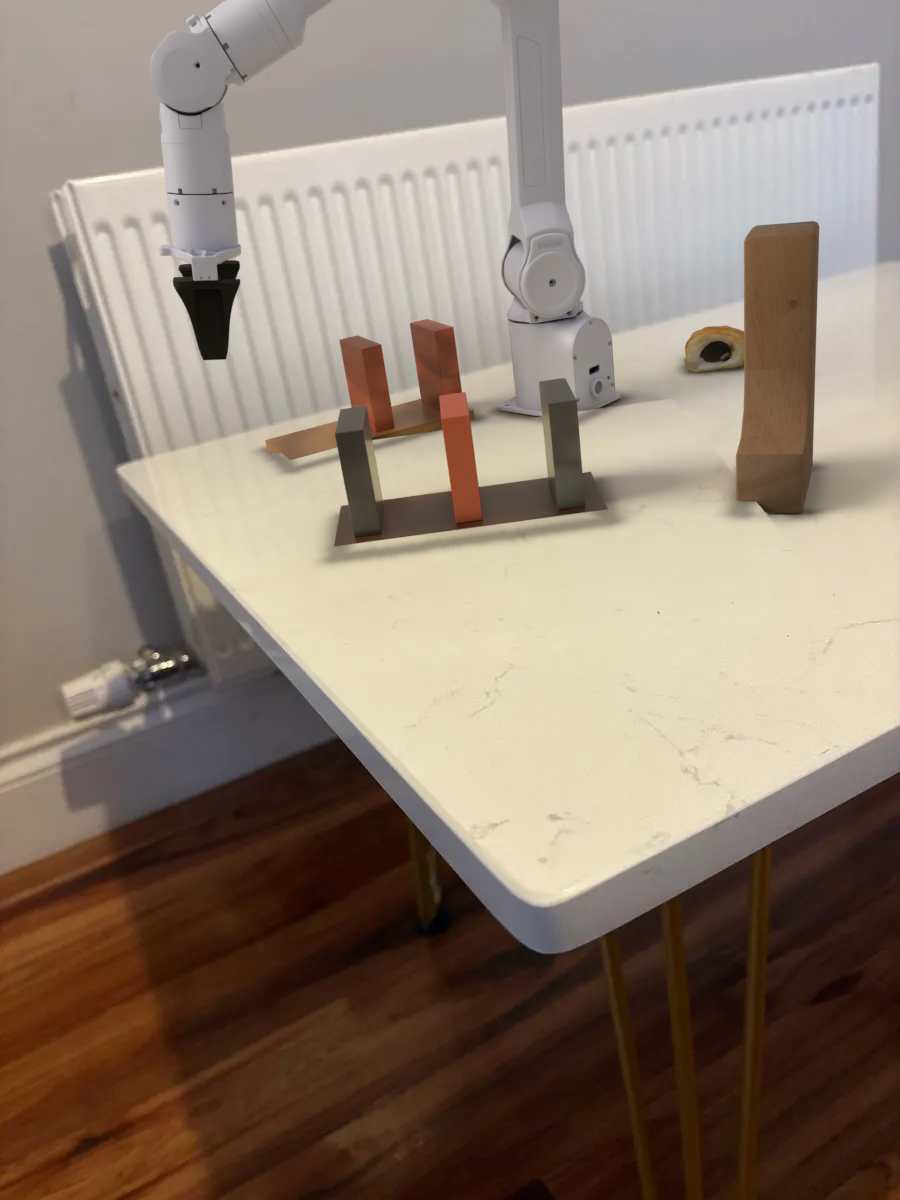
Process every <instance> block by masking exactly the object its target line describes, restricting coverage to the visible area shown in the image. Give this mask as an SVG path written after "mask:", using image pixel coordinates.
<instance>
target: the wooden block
mask: <svg viewBox="0 0 900 1200" xmlns="http://www.w3.org/2000/svg"><path fill="white" fill-rule="evenodd" d="M819 251H820V224H819V223H818V222H817V221H815V220H811V221H809V220H808V221H797V222H784V223H773V224H761V225H760V224H759V225H755V226H753V227H752V228H751V229H750V230H749V232H748V233H747V235H746V236H745V237H744V240H743V328H744V329H743V331H744V365H743V377H744V378H743V380H744V381H743V386H744V387H743V409H742V411H743V412H742V423H741V429H740V430H741V432H740V439H739V443H738V446H737V450H736V454H735V498H736V501H737V502H742V503H756V504H757V505H758V506H759V507H760V508H761V510H762V511H763V512H764V513H779V514H780V513H781V514H782V513H784V514H798V513H802V511H803V510H804V506H805V502H806V498H807V494H808V493H807V492H808V489H809V484H810V479H811V475H812V471H813V470H812V469H813V464H814V436H815V435H814V433H815V428H814V427H815V400H816V399H815V398H816V396H815V395H816V394H815V393H816V362H817V361H816V360H817V359H816V358H817V328H818V327H817V325H818V323H817V322H818V286H819V257H820V255H819V254H820V253H819Z"/></svg>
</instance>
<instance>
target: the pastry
mask: <svg viewBox="0 0 900 1200" xmlns="http://www.w3.org/2000/svg"><path fill="white" fill-rule="evenodd" d="M684 353H685V354H684V355H685V356H684V359H683V362H684V365H685V366H686V368H687V369H688V371H691V372H693V373H699V372H700V373H701V372H703V373H704V372H712V371H716V370H719V369H727V370H728V369H734V368H738V367H741V366H742V367H744V330H742V329H740V328H737V327H732V326H730V325H713V326H705V327H702V328H700V329H698V330H695V331H693V332H692V334H691V335H690V337H689V338H688V339H687V340H686V342H685V345H684Z"/></svg>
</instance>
